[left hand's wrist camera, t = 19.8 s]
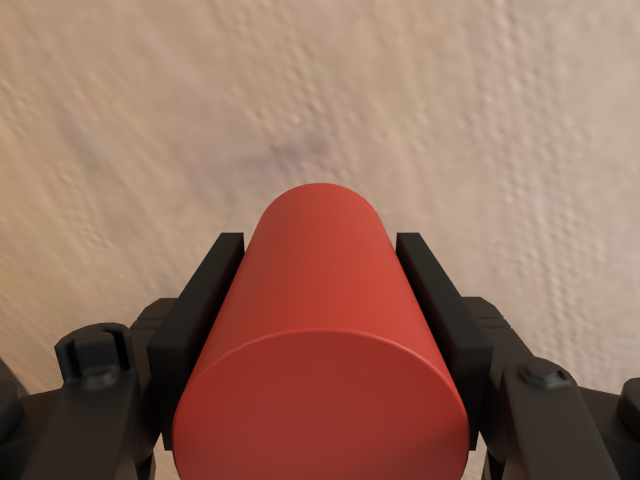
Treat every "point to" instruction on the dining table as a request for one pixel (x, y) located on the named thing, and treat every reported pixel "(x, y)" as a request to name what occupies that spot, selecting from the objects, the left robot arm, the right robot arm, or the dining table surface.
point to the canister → (320, 359)
